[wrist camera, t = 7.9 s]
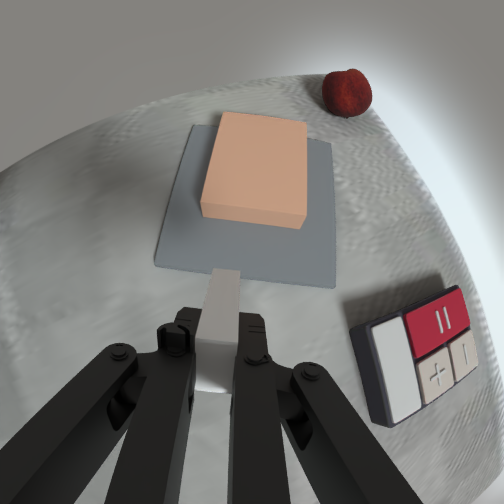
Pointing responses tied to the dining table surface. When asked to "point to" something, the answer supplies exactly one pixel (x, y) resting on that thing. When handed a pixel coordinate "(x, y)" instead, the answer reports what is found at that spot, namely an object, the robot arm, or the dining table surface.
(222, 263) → the mat
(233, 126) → the block
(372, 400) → the calculator
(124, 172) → the dining table surface
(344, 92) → the apple
